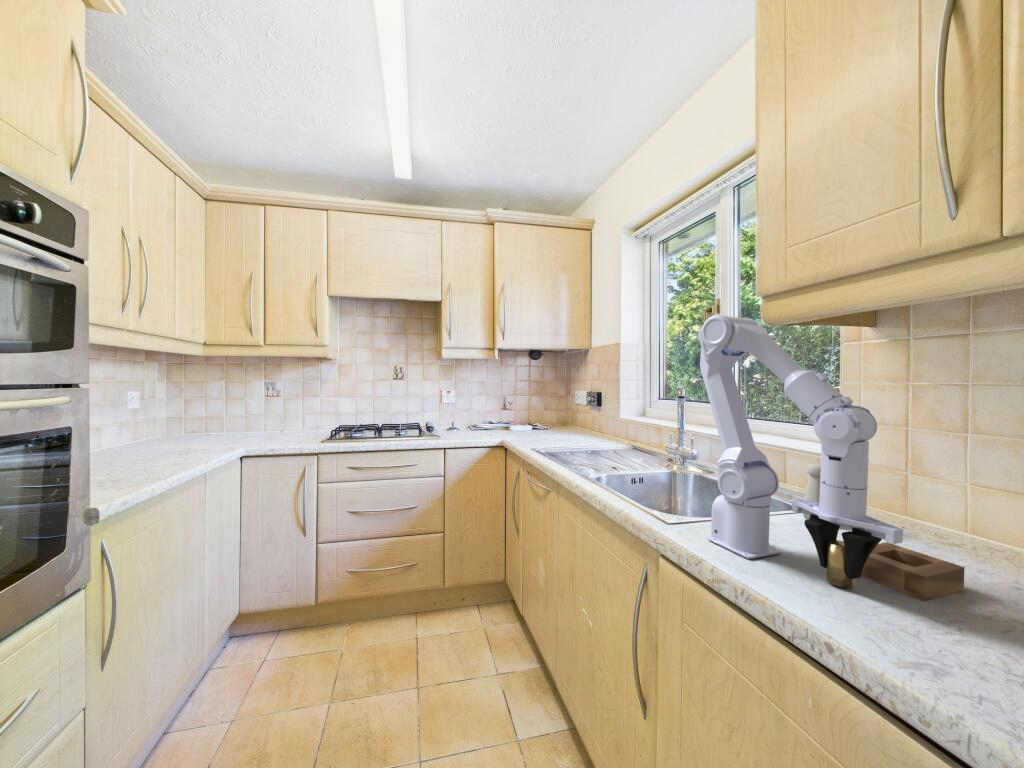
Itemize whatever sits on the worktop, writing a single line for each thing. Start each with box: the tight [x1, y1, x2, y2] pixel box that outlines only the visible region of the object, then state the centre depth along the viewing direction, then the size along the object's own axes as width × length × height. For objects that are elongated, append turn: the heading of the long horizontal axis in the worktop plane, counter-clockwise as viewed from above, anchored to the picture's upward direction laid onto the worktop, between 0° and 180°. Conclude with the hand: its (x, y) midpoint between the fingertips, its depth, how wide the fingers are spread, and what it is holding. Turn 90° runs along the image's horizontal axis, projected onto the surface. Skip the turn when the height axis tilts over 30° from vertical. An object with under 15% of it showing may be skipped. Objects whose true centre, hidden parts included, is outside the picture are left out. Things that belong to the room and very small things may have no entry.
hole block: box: [861, 541, 966, 602], centre depth 67 cm, size 10×10×4 cm
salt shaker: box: [801, 462, 821, 520], centre depth 93 cm, size 6×6×13 cm
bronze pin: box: [826, 539, 854, 589], centre depth 65 cm, size 3×3×6 cm
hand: (839, 571), depth 65 cm, fingers closed on bronze pin, 3 cm apart
